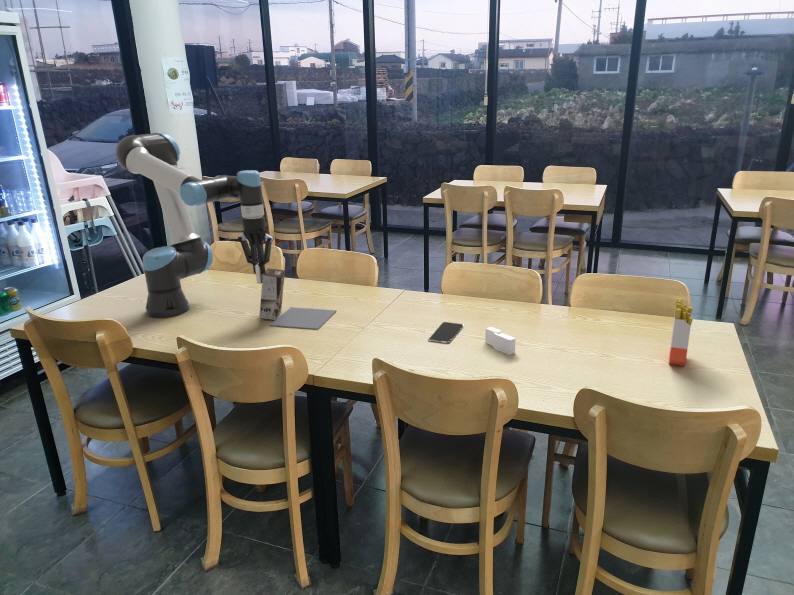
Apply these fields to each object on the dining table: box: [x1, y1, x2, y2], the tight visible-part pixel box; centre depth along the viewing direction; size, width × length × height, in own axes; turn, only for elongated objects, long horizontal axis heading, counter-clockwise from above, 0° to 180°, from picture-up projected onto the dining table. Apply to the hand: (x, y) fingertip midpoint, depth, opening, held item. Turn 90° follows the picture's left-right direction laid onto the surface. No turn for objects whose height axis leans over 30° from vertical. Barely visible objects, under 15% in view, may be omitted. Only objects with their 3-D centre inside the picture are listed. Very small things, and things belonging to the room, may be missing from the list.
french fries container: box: [668, 297, 694, 367], centre depth 173 cm, size 5×11×18 cm, turn 156°
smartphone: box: [427, 321, 464, 345], centre depth 200 cm, size 7×1×16 cm
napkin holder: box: [484, 326, 516, 356], centre depth 188 cm, size 15×11×6 cm
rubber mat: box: [269, 306, 337, 330], centre depth 217 cm, size 18×18×1 cm
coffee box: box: [258, 268, 286, 321], centre depth 217 cm, size 9×6×16 cm
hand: (260, 282), depth 217 cm, fingers closed
